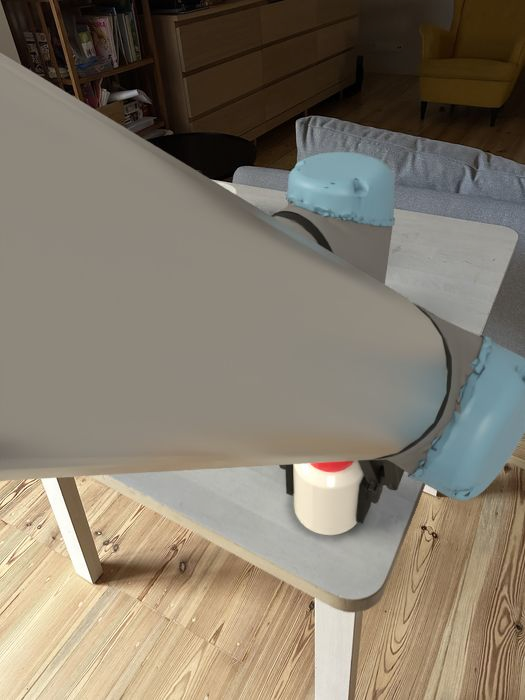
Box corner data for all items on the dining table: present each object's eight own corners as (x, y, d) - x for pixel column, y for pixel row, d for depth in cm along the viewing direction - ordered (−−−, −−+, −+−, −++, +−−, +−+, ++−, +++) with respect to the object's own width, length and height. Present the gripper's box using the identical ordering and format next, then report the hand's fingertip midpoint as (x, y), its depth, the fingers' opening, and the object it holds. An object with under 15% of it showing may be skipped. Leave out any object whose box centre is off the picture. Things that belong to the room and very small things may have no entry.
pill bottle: (372, 494, 62) (380, 429, 55) (344, 547, 57) (350, 483, 50) (312, 468, 66) (313, 404, 59) (281, 516, 61) (278, 453, 54)
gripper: (466, 346, 45) (427, 507, 59) (251, 293, 53) (262, 446, 67) (445, 404, 40) (408, 564, 54) (211, 335, 48) (233, 491, 62)
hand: (328, 498), depth 61 cm, fingers closed on pill bottle, 8 cm apart
